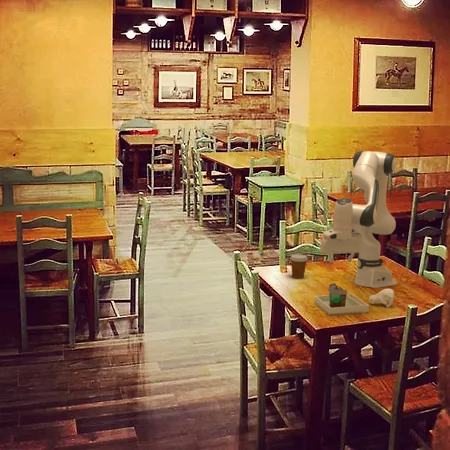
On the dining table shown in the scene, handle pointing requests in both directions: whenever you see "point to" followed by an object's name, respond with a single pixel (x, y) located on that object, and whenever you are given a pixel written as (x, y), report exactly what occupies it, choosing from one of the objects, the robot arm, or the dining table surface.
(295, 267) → the disposable coffee cup
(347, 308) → the walled box
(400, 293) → the dining table surface
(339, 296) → the food container
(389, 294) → the white animal figurine
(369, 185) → the robot arm
